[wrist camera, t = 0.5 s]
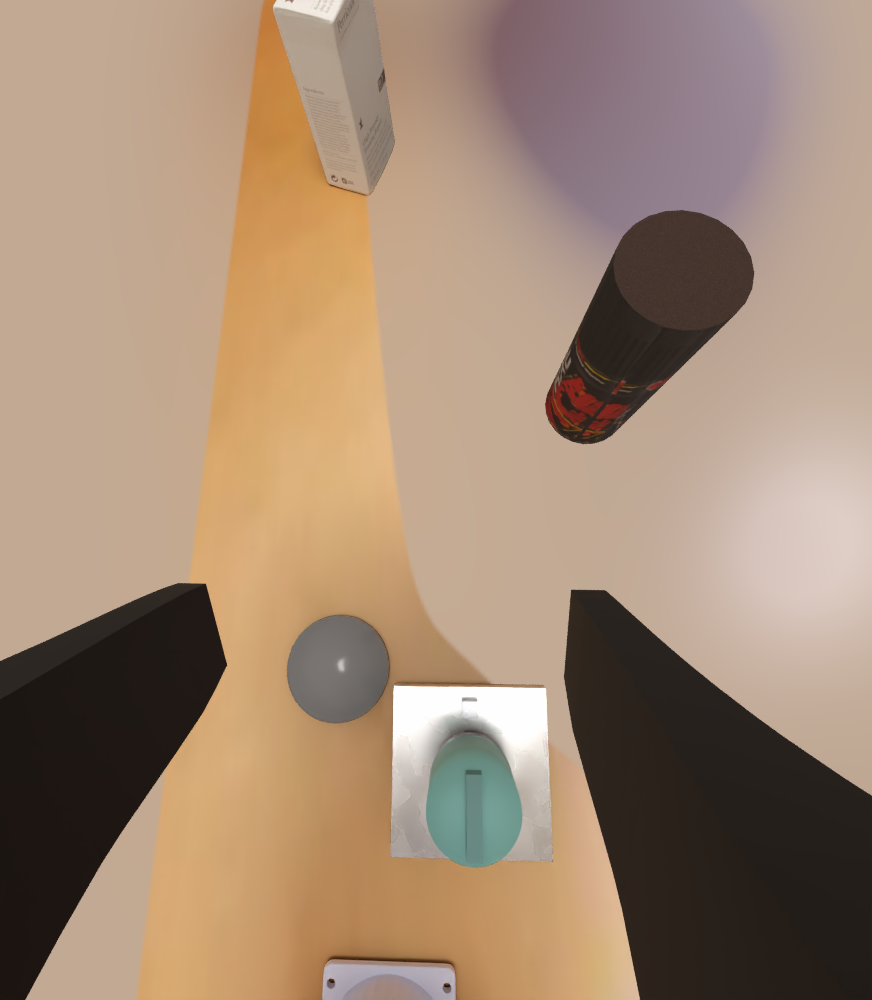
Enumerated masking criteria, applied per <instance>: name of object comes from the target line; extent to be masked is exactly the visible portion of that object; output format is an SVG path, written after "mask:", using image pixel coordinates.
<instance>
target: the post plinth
mask: <svg viewBox="0 0 872 1000" xmlns="http://www.w3.org/2000/svg"><path fill="white" fill-rule="evenodd" d="M546 706H547V704H546V688H545V687H544V686H543V685H503V684H500V685H499V684H423V683H396V684H395V686H394V713H393V761H392V810H391V857H402V858H437V859H449V858H448V857H446V856H445V855H444V854H443V853H442V852H441V851H440V850H439V849H438V847H437V846H436V845H435V843H434V841H433V839H432V837H431V835H430V833H429V829H428V826H427V821H426V802H427V795H428V787H429V780H430V772H431V767H432V764H433V761H434V759H435V757H436V755H437V754H438V752H439V751H440V750H441V749H442V747H444V746H445V745H446V744H447V743H448V742H450V741H451V740H453V739H455V738H458V737H462V736H478V737H482V738H485V739H487V740H489V741H491V742H492V743H494V744H495V745H496V746H497V747H498V748H499V749H500V750H501V751H502V752H503V754H504V755H505V757H506V758H507V760H508V763H509V765H510V768H511V771H512V774H513V778H514V781H515V784H516V787H517V790H518V793H519V797H520V800H521V805H522V826H521V830H520V834H519V837H518V839H517V841H516V843H515V845H514V846H513V848H512V849H511V850H510V852H509V853H508V854H507V855H506V856H505V857H503V858H502V859H501V860H508V861H543V862H553V849H552V824H551V800H550V776H549V752H548V728H547V707H546Z"/></svg>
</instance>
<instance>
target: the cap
mask: <svg viewBox="0 0 872 1000" xmlns="http://www.w3.org/2000/svg"><path fill="white" fill-rule="evenodd" d="M426 821H427V826H428V829H429V833H430V835H431V837H432V839H433V841H434V843H435V845H436V846H437V847H438V849H439V850H440V851H441V852H442V853H443V854H444V855H445V856H446V857H448V858H449V859H450V860H452V861H454V862H455V863H458V864H460V865H463V866H467V867H485V866H489V865H491V864H494V863H496V862H498V861H499V860H501V859H502V858H503V857H505V856H506V855H507V854H508V853H509V852H510V850H511V849H512V848H513V846H514V845H515V843H516V841H517V839H518V837H519V834H520V830H521V826H522V805H521V800H520V797H519V793H518V790H517V787H516V784H515V781H514V778H513V774H512V771H511V768H510V765H509V763H508V760H507V758H506V757H505V755H504V754H503V752H502V751H501V750H500V749H499V748H498V747H497V746H496V745H495V744H494V743H492V742H491V741H489V740H487V739H485V738H482V737H478V736H462V737H458V738H455V739H453V740H451V741H450V742H448V743H447V744H446V745H445V746H444V747H442V749H441V750H440V751H439V752H438V754H437V755H436V757H435V759H434V761H433V764H432V767H431V772H430V780H429V787H428V795H427V802H426Z"/></svg>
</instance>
